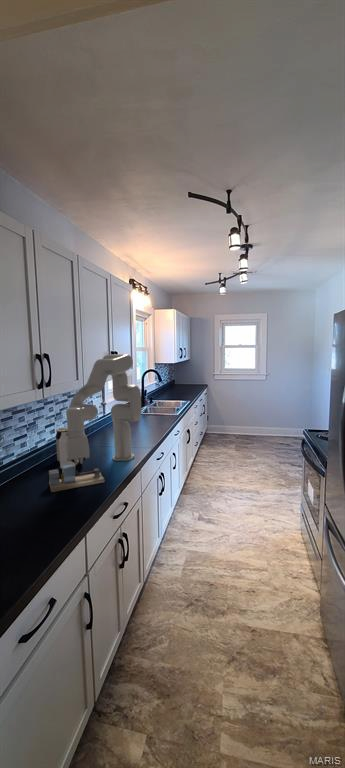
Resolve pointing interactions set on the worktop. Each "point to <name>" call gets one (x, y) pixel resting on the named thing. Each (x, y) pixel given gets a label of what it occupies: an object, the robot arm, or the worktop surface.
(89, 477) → the slider mechanism
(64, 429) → the travel mug
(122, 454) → the robot arm
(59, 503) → the worktop surface
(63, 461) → the milk carton
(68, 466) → the sleeve
